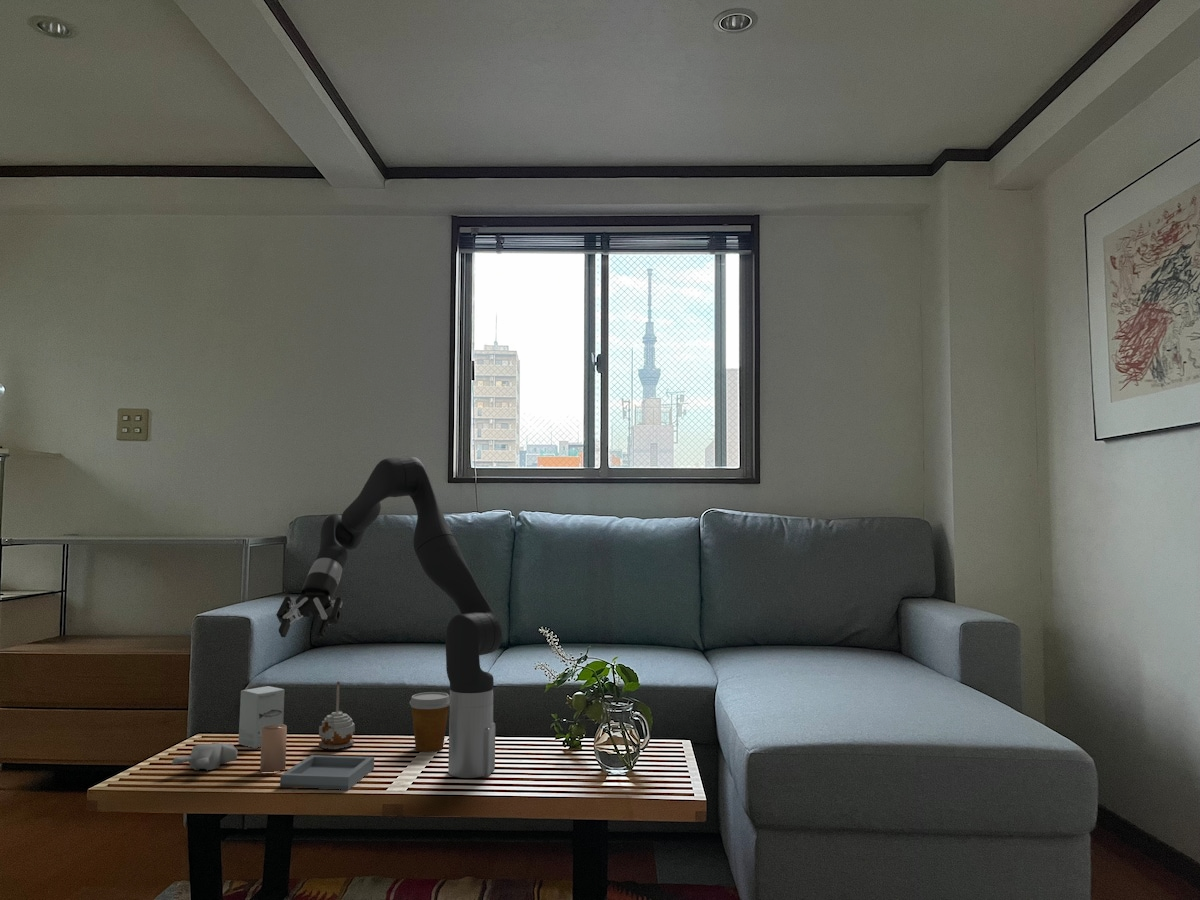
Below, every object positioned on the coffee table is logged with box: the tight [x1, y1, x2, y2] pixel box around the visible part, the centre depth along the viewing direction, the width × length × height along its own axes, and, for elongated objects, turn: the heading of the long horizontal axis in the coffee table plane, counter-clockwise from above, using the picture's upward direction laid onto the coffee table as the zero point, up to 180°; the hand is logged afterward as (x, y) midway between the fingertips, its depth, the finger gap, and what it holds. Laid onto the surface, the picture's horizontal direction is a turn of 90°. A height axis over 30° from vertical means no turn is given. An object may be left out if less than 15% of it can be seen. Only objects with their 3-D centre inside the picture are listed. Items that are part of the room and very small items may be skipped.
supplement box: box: [238, 685, 285, 749], centre depth 199 cm, size 7×7×13 cm
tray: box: [279, 754, 375, 791], centre depth 172 cm, size 14×14×2 cm
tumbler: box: [259, 723, 288, 773], centre depth 178 cm, size 5×5×9 cm
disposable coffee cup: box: [409, 691, 450, 753], centre depth 195 cm, size 10×10×12 cm
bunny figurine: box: [171, 742, 238, 772], centre depth 179 cm, size 10×5×15 cm
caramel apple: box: [318, 680, 356, 750], centre depth 196 cm, size 8×8×15 cm
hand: (300, 635), depth 190 cm, fingers open, 8 cm apart
